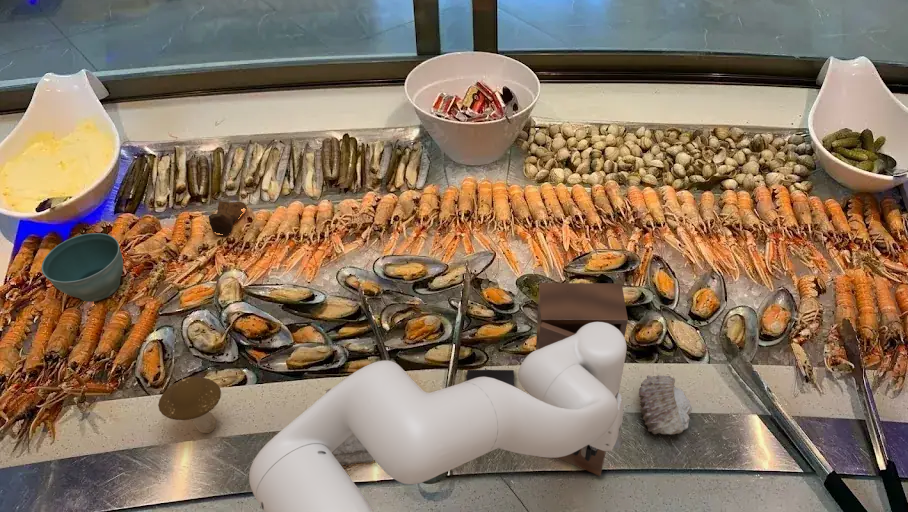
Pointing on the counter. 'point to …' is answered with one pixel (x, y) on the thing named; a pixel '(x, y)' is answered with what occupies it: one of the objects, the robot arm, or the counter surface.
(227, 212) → the sculpture
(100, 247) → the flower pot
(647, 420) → the seashell
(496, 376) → the control box
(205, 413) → the mushroom
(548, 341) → the door
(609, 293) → the cupboard
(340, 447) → the stone
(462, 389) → the robot arm
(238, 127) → the counter surface
